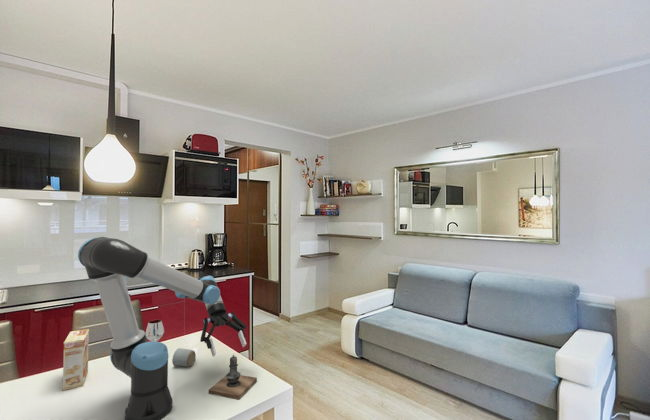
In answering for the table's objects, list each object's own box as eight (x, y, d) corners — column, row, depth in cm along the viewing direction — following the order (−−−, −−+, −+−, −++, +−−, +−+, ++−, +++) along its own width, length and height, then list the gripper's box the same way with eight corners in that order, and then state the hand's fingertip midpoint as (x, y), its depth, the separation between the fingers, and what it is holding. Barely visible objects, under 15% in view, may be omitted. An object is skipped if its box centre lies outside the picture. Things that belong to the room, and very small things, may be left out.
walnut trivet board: (239, 399, 121) (239, 395, 121) (208, 393, 125) (208, 389, 125) (256, 381, 134) (256, 377, 134) (228, 376, 138) (228, 372, 138)
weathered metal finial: (243, 383, 130) (243, 354, 130) (230, 389, 125) (230, 359, 126) (235, 378, 134) (235, 350, 134) (223, 383, 129) (223, 354, 130)
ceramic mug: (188, 369, 144) (188, 352, 145) (171, 368, 145) (172, 351, 145) (199, 359, 155) (200, 343, 155) (184, 358, 156) (184, 343, 156)
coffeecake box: (83, 386, 130) (84, 339, 130) (61, 391, 126) (62, 342, 127) (88, 371, 143) (89, 328, 143) (69, 375, 139) (69, 331, 140)
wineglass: (158, 361, 152) (158, 324, 152) (141, 361, 152) (142, 324, 152) (166, 354, 160) (167, 318, 161) (151, 354, 160) (151, 318, 161)
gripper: (237, 306, 154) (252, 346, 142) (185, 317, 137) (197, 363, 125) (242, 297, 150) (259, 337, 139) (189, 307, 133) (203, 354, 122)
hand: (230, 350), depth 132 cm, fingers open, 13 cm apart
